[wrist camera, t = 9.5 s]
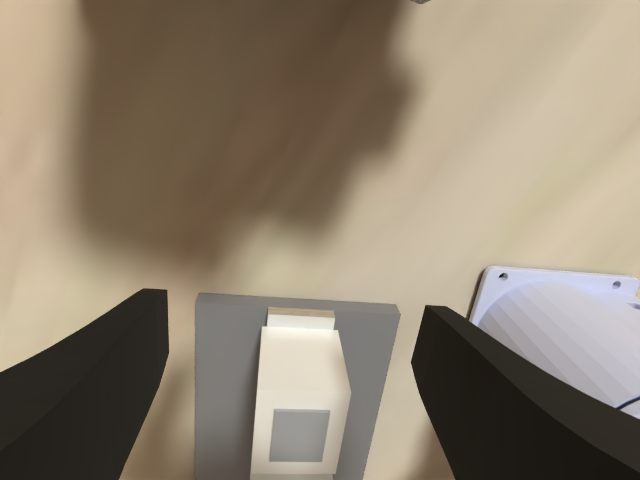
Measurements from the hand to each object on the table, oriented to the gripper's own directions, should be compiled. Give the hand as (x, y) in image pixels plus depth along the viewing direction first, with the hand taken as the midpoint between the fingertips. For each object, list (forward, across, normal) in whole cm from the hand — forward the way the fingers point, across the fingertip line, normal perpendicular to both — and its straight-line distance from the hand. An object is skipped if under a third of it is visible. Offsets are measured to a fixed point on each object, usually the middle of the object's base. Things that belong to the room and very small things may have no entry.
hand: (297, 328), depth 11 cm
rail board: (+10, -1, +14) cm, 17 cm away
